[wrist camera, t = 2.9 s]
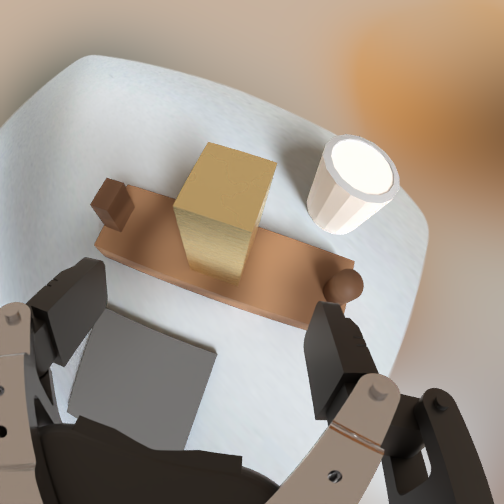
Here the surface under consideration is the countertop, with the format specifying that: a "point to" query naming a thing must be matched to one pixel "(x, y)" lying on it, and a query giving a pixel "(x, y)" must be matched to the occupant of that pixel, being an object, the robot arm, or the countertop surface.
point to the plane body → (242, 296)
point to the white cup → (350, 184)
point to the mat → (140, 382)
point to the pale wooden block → (222, 210)
